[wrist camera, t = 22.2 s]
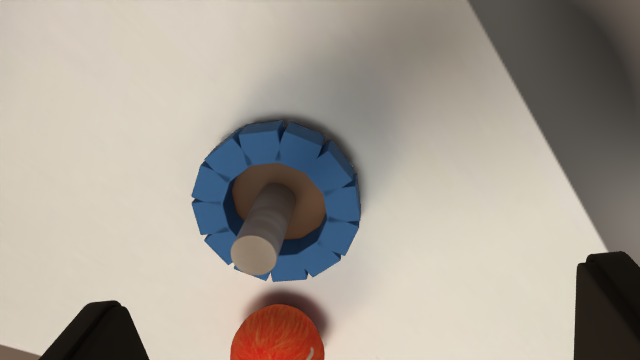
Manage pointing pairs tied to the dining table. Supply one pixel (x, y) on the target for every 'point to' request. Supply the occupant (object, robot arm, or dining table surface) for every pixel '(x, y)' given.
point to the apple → (277, 336)
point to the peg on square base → (272, 213)
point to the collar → (296, 152)
